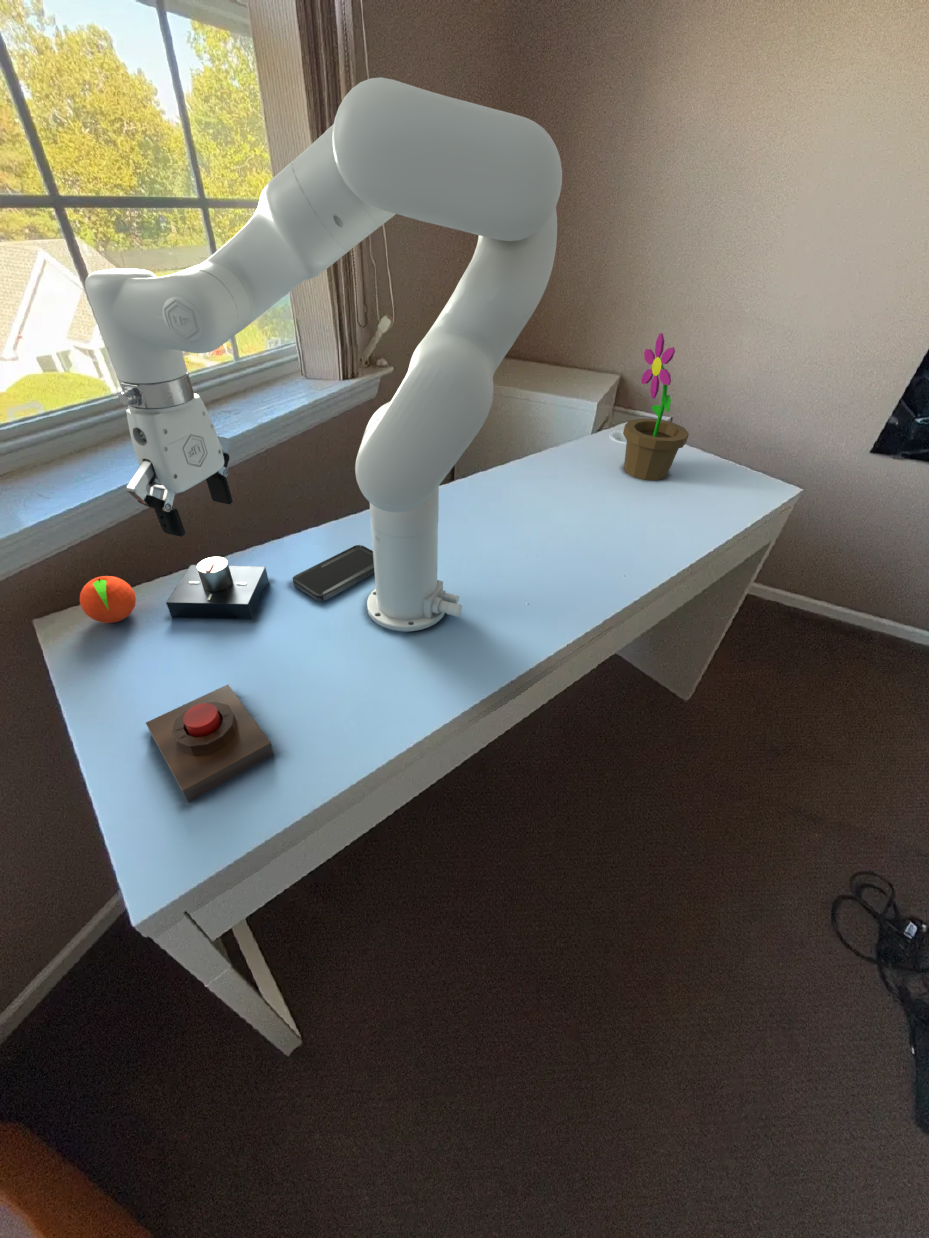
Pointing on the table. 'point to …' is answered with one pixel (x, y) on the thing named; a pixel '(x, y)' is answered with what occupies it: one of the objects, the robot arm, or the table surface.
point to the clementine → (107, 599)
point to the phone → (336, 573)
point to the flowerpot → (654, 425)
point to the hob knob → (215, 574)
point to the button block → (210, 744)
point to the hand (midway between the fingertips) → (200, 517)
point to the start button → (202, 720)
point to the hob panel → (219, 595)
